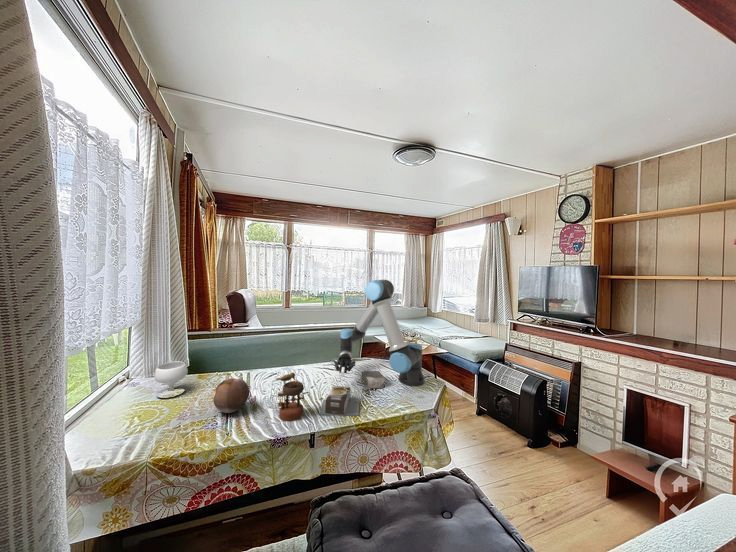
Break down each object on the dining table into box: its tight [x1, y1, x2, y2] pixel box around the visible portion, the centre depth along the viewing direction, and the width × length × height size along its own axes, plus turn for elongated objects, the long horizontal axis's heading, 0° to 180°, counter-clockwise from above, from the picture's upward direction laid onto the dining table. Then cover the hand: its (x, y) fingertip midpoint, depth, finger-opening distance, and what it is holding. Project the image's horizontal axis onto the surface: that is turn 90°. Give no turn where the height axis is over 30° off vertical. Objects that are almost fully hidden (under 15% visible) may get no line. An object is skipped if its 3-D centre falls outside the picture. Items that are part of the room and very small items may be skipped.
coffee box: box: [325, 384, 351, 415], centre depth 134 cm, size 9×6×16 cm
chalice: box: [153, 360, 189, 391], centre depth 142 cm, size 14×14×15 cm
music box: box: [275, 372, 310, 422], centre depth 126 cm, size 15×11×20 cm
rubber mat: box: [318, 399, 360, 417], centre depth 133 cm, size 18×14×1 cm
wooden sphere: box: [212, 377, 250, 414], centre depth 128 cm, size 15×15×15 cm
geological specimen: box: [361, 370, 386, 389], centre depth 163 cm, size 11×6×15 cm
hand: (342, 374), depth 143 cm, fingers closed
